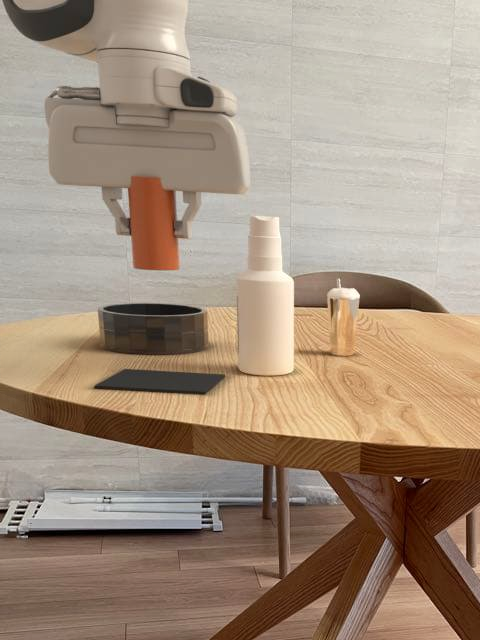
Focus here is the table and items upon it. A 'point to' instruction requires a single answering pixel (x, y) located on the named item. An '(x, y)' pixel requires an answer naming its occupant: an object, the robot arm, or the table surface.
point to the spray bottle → (265, 304)
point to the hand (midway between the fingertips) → (155, 236)
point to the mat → (161, 381)
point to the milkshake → (342, 319)
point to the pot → (153, 328)
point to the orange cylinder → (153, 225)
